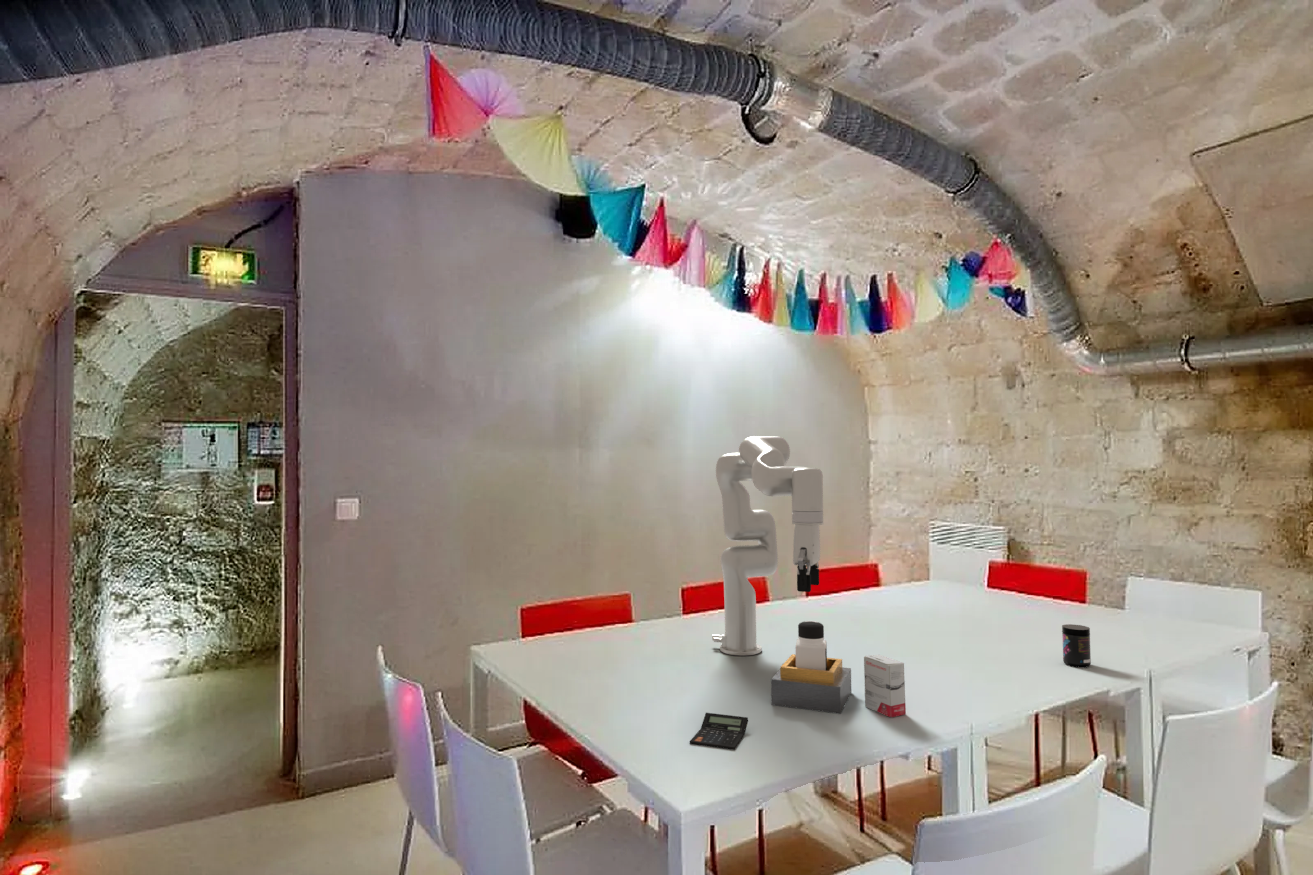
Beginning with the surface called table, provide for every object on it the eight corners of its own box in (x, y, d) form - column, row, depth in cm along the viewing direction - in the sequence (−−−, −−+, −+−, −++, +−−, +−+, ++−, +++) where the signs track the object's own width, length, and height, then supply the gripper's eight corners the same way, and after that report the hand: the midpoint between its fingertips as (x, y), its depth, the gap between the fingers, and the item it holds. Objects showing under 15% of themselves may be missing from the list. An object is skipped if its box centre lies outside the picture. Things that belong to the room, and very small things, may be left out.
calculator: (689, 745, 145) (689, 730, 146) (706, 725, 156) (706, 711, 156) (734, 751, 142) (734, 736, 142) (748, 731, 153) (748, 716, 153)
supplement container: (1072, 660, 203) (1071, 623, 204) (1096, 666, 197) (1095, 628, 198) (1057, 663, 200) (1056, 626, 200) (1081, 669, 194) (1080, 630, 194)
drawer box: (771, 704, 168) (770, 668, 169) (789, 682, 185) (789, 649, 185) (840, 713, 162) (839, 675, 162) (852, 689, 179) (852, 655, 179)
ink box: (907, 715, 161) (905, 661, 161) (890, 718, 159) (888, 664, 159) (880, 703, 169) (879, 652, 169) (863, 706, 167) (862, 655, 167)
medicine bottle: (826, 677, 168) (825, 626, 169) (795, 675, 170) (795, 625, 171) (827, 669, 175) (826, 620, 176) (797, 667, 177) (796, 618, 177)
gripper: (800, 515, 185) (801, 581, 185) (783, 520, 169) (784, 593, 169) (829, 515, 182) (830, 583, 182) (815, 521, 166) (816, 595, 166)
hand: (808, 588), depth 175 cm, fingers open, 9 cm apart
